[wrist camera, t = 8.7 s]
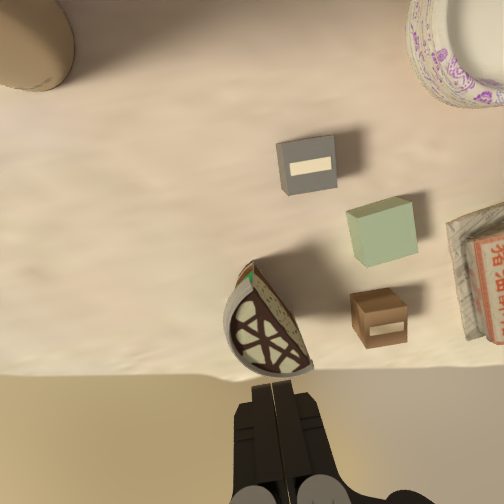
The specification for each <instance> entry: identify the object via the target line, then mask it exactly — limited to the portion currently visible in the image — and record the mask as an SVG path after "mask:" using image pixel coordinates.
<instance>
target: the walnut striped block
mask: <svg viewBox="0 0 504 504" xmlns="http://www.w3.org/2000/svg"><path fill="white" fill-rule="evenodd" d="M350 298H351V314H352V327H353V329H354V330H355V332H356V333H357V335H358V336H359V338H360V340H361V341H362V343H363V344H364V346H365V348H366V349H370V348H376V347H382V346H388V345H394V344H400V343H406V342H407V310H408V306H407V305H406V304H405V303H404V302H403V301H402V300H400V299H399V298H398V297H397V296H396V295H395V294H394V293H393V292H392V291H391V290H390V289H389V288H383V289H377V290H371V291H365V292H359V293H353V294H350Z"/></svg>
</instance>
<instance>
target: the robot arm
mask: <svg viewBox="0 0 504 504" xmlns="http://www.w3.org/2000/svg"><path fill="white" fill-rule="evenodd" d="M73 59H74V39H73V34H72V30H71V27H70V24H69V22H68V20H67V18H66V16H65V14H64V12H63V11H62V9H61V8H60V7H59V5H58V4H57V3H56V1H55V0H0V84H1V85H5V86H7V87H11V88H15V89H21V90H25V91H32V92H38V91H45V90H49V89H52V88H54V87H55V86H57V85H58V84H60V83H61V82H62V81H63V80H64V79H65V77H66V76H67V74H68V73H69V71H70V69H71V66H72V63H73ZM272 387H273V394H274V400H273V395H272V389H271V384H270V383H269V384H263V385H257V386H252V402H248V403H242V404H239V406H238V409H237V411H236V413H235V415H234V475H233V476H234V477H233V494H232V498H231V501H230V503H229V504H290V503H291V504H434V503H433V502H432V501H430V500H429V499H427V498H426V497H424V496H422V495H421V494H419V493H417V492H414V491H410V490H399V491H395V492H393V493H392V494H390V495H389V496H388V498H387V499H386V500H383V499H377V498H373V497H368V496H364V495H361V494H359V493H357V492H355V491H353V490H352V489H350V488H349V487H348V486H347V485H346V484H345V483H344V482H343V480H342V479H341V477H340V476H339V473H338V471H337V468H336V465H335V461H334V458H333V455H332V452H331V448H330V445H329V442H328V439H327V435H326V433H325V429H324V426H323V422H322V419H321V416H320V413H319V409H318V406H317V403H316V401H315V400H314V399H313V398H312V397H311V396H310V395H309V394H308V393H307V392H306V393H300V394H294V393H293V388H292V384H291V380H286V381H280V382H274V383H272ZM274 401H275V405H274ZM275 408H276V411H275ZM276 415H277V416H276ZM277 421H278V422H277ZM287 487H288V489H287ZM288 492H289V497H290V503H289V497H288Z"/></svg>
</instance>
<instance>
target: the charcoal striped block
mask: <svg viewBox="0 0 504 504" xmlns="http://www.w3.org/2000/svg"><path fill="white" fill-rule="evenodd" d="M276 149H277V157H278V165H279V173H280V180H281V188H282V190H283V191H284V192H285V193H286V194H287V195H288V196H290V195H296V194H302V193H308V192H314V191H320V190H326V189H332V188H338V186H337V172H336V158H335V143H334V135H328V136H319V137H313V138H307V139H301V140H295V141H289V142H283V143H278V144H276Z"/></svg>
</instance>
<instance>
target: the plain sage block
mask: <svg viewBox="0 0 504 504" xmlns="http://www.w3.org/2000/svg"><path fill="white" fill-rule="evenodd" d="M345 212H346V216H347V221H348V226H349V231H350V236H351V241H352V246H353V251H354V256H355V257H356V258H357V259H358V260H359V261H360V262H361V263H362V264H363V265H364V266H365V267H366V268H368V267H371V266H375V265H378V264H382V263H385V262H389V261H392V260H395V259H399V258H402V257H406V256H409V255H413V254H416V253H418V246H417V238H416V230H415V222H414V214H413V207H412V202H410V201H407V200H404V199H401V198H398V197H391V198H388V199H385V200H381V201H378V202H375V203H372V204H368V205H365V206H362V207H358V208H355V209H352V210H348V211H345Z"/></svg>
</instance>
